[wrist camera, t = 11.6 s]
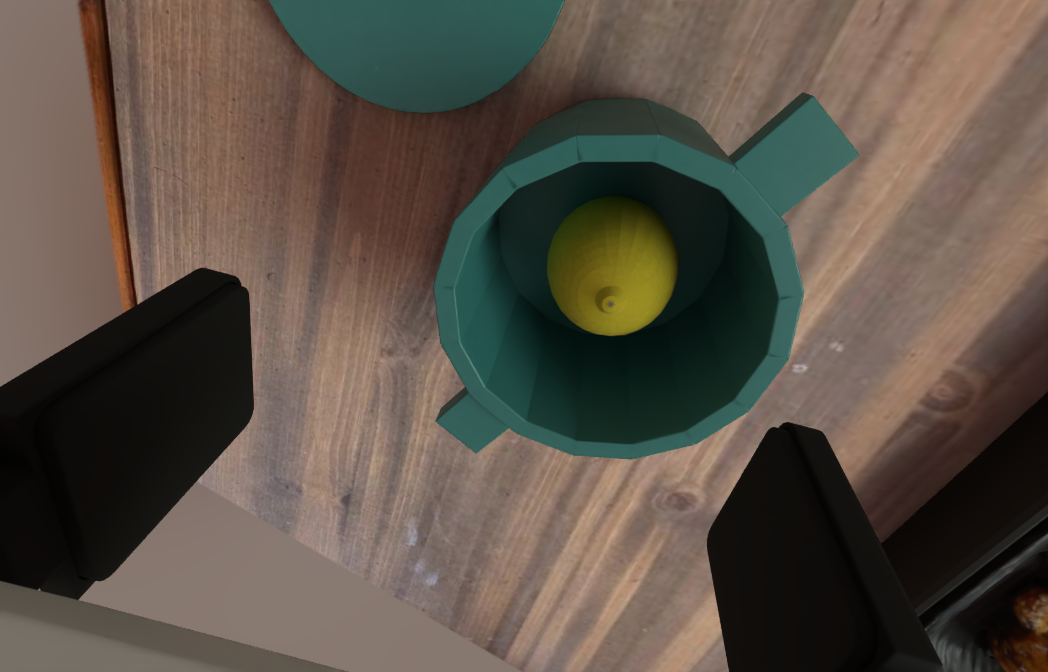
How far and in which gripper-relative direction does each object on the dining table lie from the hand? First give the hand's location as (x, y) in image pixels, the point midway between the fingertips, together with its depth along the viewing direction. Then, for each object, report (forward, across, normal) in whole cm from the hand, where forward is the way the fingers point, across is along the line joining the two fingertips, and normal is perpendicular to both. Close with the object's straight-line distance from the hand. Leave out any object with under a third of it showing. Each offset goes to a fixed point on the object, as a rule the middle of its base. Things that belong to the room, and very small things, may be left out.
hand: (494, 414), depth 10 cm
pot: (+19, -3, +3) cm, 20 cm away
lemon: (+19, -3, +2) cm, 19 cm away
